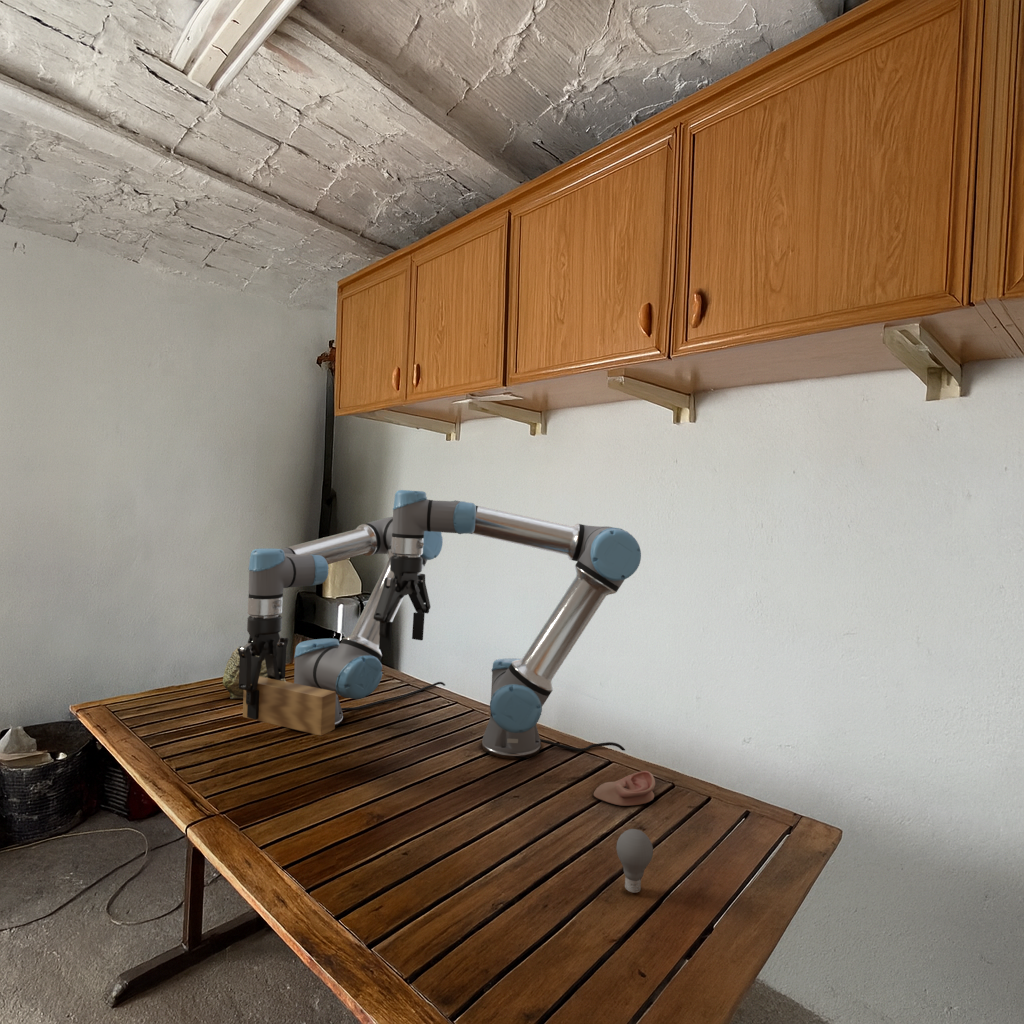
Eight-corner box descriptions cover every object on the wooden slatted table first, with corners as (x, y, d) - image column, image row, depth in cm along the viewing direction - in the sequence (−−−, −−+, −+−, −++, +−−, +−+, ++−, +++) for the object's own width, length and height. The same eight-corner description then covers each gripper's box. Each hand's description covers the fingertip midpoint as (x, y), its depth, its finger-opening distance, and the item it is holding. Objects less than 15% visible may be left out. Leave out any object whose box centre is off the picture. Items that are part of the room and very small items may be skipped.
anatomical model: (593, 783, 136) (596, 762, 147) (592, 802, 136) (596, 779, 148) (656, 792, 134) (655, 770, 145) (655, 810, 134) (654, 787, 145)
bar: (242, 717, 147) (243, 680, 147) (257, 711, 151) (258, 676, 151) (321, 735, 138) (322, 697, 138) (334, 729, 142) (336, 691, 142)
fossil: (218, 695, 195) (220, 647, 195) (278, 685, 208) (279, 640, 207) (228, 703, 189) (230, 653, 188) (289, 692, 201) (290, 645, 201)
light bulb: (610, 879, 108) (613, 822, 108) (644, 879, 109) (647, 822, 109) (619, 902, 102) (622, 840, 102) (655, 901, 103) (658, 840, 103)
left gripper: (247, 623, 138) (243, 729, 138) (304, 611, 154) (300, 706, 154) (222, 619, 141) (218, 723, 141) (280, 608, 157) (277, 701, 157)
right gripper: (389, 560, 137) (383, 657, 137) (447, 554, 160) (442, 637, 160) (360, 556, 140) (355, 652, 140) (421, 551, 163) (417, 633, 163)
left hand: (261, 714), depth 148 cm, fingers closed on bar, 5 cm apart
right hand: (401, 644), depth 150 cm, fingers open, 13 cm apart
